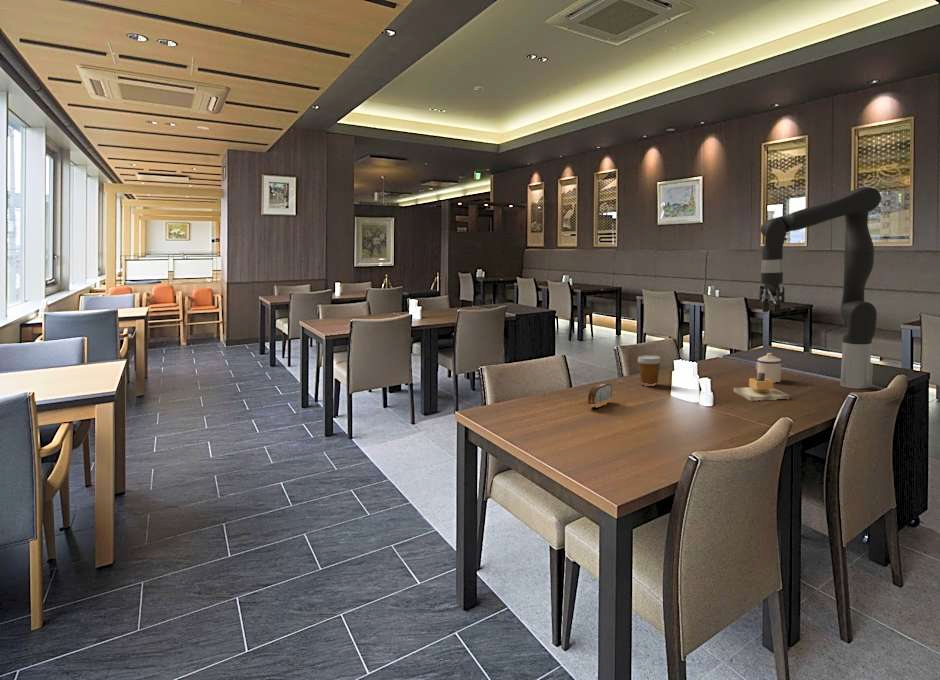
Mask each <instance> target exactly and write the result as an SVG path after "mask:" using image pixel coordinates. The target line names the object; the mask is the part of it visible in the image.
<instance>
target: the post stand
mask: <svg viewBox="0 0 940 680" xmlns="http://www.w3.org/2000/svg"><path fill="white" fill-rule="evenodd" d="M757 381H765V373H758V380H757ZM733 392H734V394H737V395H739V396H740V397H743V398H745V399H746V400H748V401H750V402H757V401H759V400H760V401H778V400H777V399H787V400H790V397H791V396H790V394H787V393H785V392H783V391H782V390H781V391H780V390H779V389H777V388H774V387H773V389H767V390H756V389H754V388H752V387H750V386H749V387H733Z"/></svg>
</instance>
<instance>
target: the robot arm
mask: <svg viewBox="0 0 940 680" xmlns="http://www.w3.org/2000/svg"><path fill="white" fill-rule="evenodd" d="M881 200H882V195H881V193H880V191H879V190H878V189H877V188H874V187H870V186H864V187H859V188H855V189H853V190H850V191H849V192H848V193H847V194H846V196H844V197H842V198H840V199H839V198H838V199H836V200H833V201H829V202H826V203H821V204H817V205H813V206H809V207H807V208H803V209H800V210H796V211H793V212H790V213H789V214H786V215H782V216H778V217H773V218H771V219H767V220H765V221H764V222H762V224H761V226H760V233H761V235H762V236H763V237H765V241H764V243H765V244H764V245H763V247H762V253H761V257H762V258H761V266H760V267H761V268H760V269H761V270H760V271H761V273H760V284H762V285H760V286H759V295H758V298H759V301H761V303H762V309H761V310H762V312H763V313H768V312H770V300H771V301H772V302H773V314H774V315H780V314H781V305H782V304H783V303H785V300H786V299H785V287H784V286H780V284H783V282H784V263H783V262H784V261H783V260H784V259H783V257H784V253H783V252H784V250H783V249H784V243H785V239H786V233H790V232H792V231H793V232H794V231H799V230H803V229H805V228H806V229H807V228H809V227H813V226H815V225H819V224H821V223H824V222H827V221H830V220H833V219H836V218H841V217H844V219H845V220H844V221H845V238H844V257H843V264H844V265H843V267H844V269H843V291H842V298H841V304H840V316H841V320H843V321H844V322H846V323H847V324H849V326H848V331H847V333H845V334H843V336H842V347H841V348H842V351H841V365H840V366H841V368H840V370H841V371H840V384H839V385H840V386H841V387H843V388H846V389H847V388H848V389H854V390H855V389H856V390H858V389H861V390H863V389H869V388H872V386H873V371H874V363H873V362H871V360H872V359H871V358H872V344H873V338H874V336H875V333H876V329H877V328H876V327H877V318H878V317H877V316H878V315H877V314H878V313H877V309H876V307H875V305H874V304H872V303H871V302H867V301H865V289H866V285H867V284H866V283H867V281H868V279H869V277H870V275H871V272H872V271H873V267H874V261H875V259H874V258H875V247H874V243H873V239H872V236H871V234H870V229H869V224H868V223H869V222H868V220H869V212H872V211H873V210H875V209H876V208H878V206H879V205H880V204H881Z"/></svg>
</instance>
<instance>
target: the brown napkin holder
mask: <svg viewBox="0 0 940 680" xmlns="http://www.w3.org/2000/svg"><path fill="white" fill-rule="evenodd" d="M612 391H613V386H612V384H611V383H609V382H605V381H602V382H600V383H597V384H594V385H593V386H591V388H590V390H589V392H588V398H587V403H588V404H596V403H599V402H601V401H603V400H606V399H608V398H610V397H611V398H612V394H613V393H612Z"/></svg>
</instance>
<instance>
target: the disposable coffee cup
mask: <svg viewBox="0 0 940 680" xmlns="http://www.w3.org/2000/svg"><path fill="white" fill-rule="evenodd" d="M637 358H638V359H637V363H638V368H639V379H640V383H641V382H643V383H648V384H654V383H657V384H658V380H659V375H660V374H659V373H660V366H661V362H662V359H661V357H660V356H658V355H655V354H654V355H653V354H652V355H651V354H649V355H646V354H645V355H639V356H638V357H637Z"/></svg>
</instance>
